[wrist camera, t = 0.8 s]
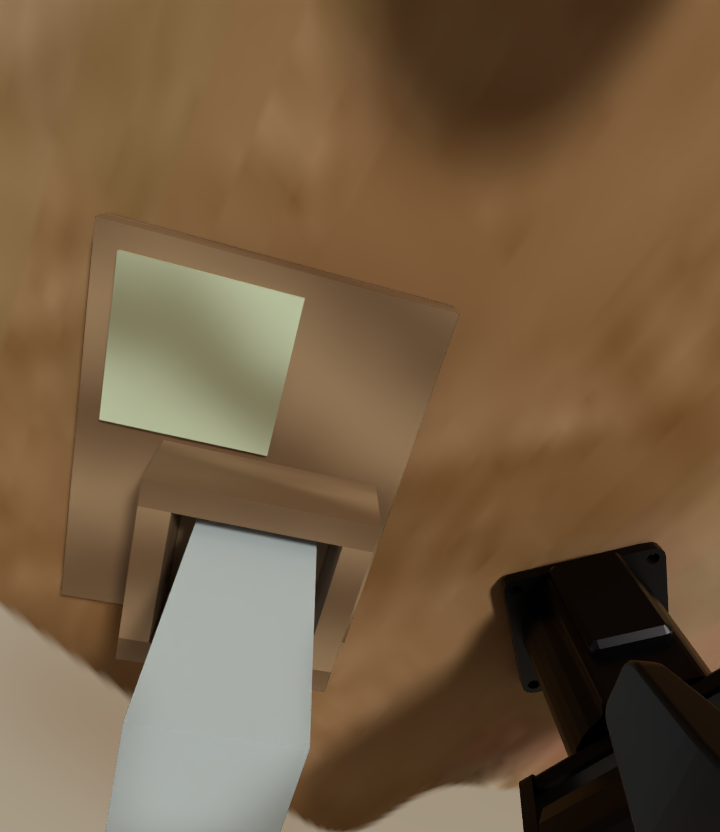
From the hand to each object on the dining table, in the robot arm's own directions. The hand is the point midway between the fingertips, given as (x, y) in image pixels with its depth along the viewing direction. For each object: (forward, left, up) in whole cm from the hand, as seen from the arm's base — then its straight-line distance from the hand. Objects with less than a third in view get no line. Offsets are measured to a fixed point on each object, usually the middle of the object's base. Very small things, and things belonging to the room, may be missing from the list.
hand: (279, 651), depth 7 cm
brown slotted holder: (-3, +4, -13) cm, 14 cm away
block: (-7, +4, -12) cm, 15 cm away
